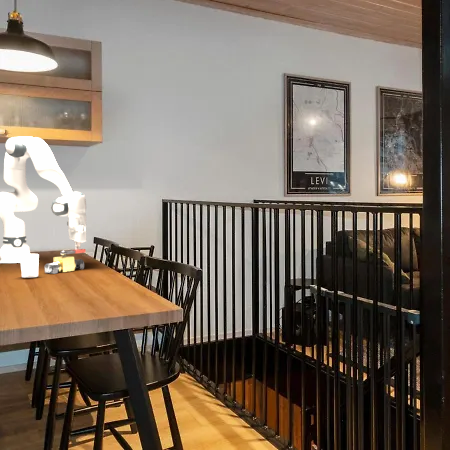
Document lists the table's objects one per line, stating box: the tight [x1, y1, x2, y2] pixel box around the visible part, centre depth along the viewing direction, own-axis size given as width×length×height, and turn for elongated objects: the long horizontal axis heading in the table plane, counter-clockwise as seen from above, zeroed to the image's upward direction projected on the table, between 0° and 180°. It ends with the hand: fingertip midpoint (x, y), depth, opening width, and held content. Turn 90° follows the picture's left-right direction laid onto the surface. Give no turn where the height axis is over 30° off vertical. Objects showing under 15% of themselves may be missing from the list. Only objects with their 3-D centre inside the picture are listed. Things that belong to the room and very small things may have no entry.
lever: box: [59, 248, 86, 256], centre depth 235 cm, size 14×3×2 cm, turn 145°
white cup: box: [20, 253, 40, 279], centre depth 215 cm, size 8×8×10 cm
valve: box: [44, 255, 85, 275], centre depth 232 cm, size 20×7×8 cm, turn 148°
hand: (77, 249), depth 244 cm, fingers closed
